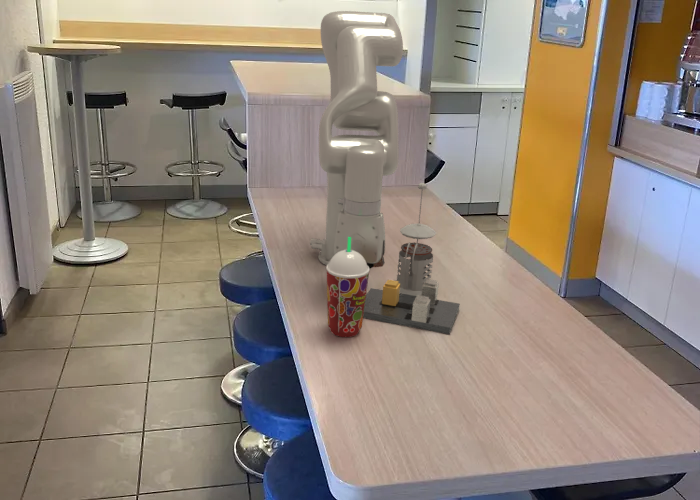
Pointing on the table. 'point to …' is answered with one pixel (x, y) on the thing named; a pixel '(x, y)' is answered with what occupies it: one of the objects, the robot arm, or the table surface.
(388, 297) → the orange rectangular block
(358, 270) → the smoothie
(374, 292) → the panel
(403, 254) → the french press
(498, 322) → the table surface
